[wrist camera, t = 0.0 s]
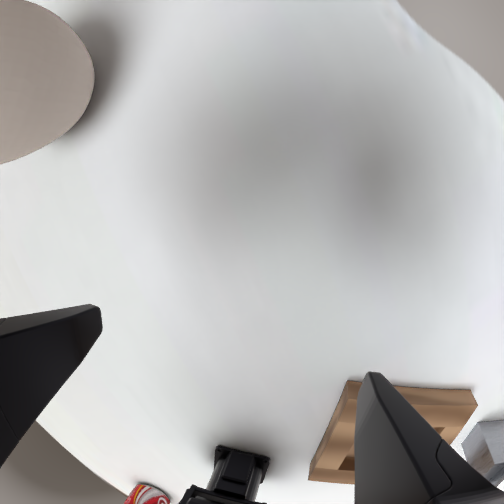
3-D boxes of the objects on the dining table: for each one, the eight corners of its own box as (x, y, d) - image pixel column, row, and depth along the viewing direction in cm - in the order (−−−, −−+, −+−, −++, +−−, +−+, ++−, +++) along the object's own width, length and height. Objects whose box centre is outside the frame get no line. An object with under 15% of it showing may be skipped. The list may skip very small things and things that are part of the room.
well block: (414, 469, 26) (416, 483, 24) (310, 464, 29) (308, 480, 26) (470, 389, 22) (478, 405, 20) (347, 380, 25) (348, 398, 22)
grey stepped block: (488, 441, 23) (505, 486, 16) (461, 444, 24) (476, 493, 16) (504, 419, 22) (525, 464, 14) (477, 422, 23) (497, 472, 15)
